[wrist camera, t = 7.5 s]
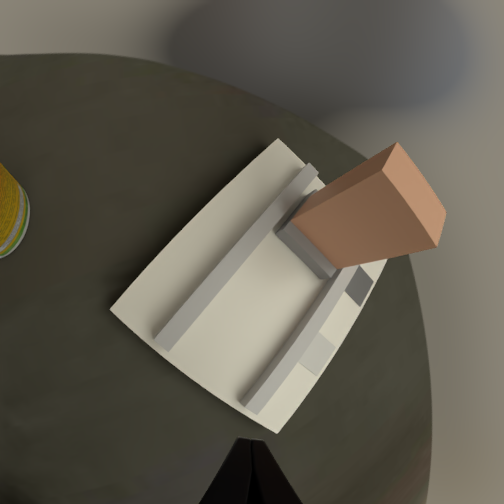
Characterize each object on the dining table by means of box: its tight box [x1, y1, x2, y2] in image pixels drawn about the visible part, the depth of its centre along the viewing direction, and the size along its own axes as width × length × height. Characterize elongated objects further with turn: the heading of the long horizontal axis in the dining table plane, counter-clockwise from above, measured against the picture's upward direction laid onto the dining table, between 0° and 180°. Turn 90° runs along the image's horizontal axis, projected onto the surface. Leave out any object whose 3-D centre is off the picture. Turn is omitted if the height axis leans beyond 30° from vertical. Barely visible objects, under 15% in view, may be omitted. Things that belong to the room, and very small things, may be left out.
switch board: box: [110, 139, 387, 433], centre depth 18 cm, size 16×13×2 cm
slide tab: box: [275, 142, 446, 279], centre depth 15 cm, size 4×4×9 cm
